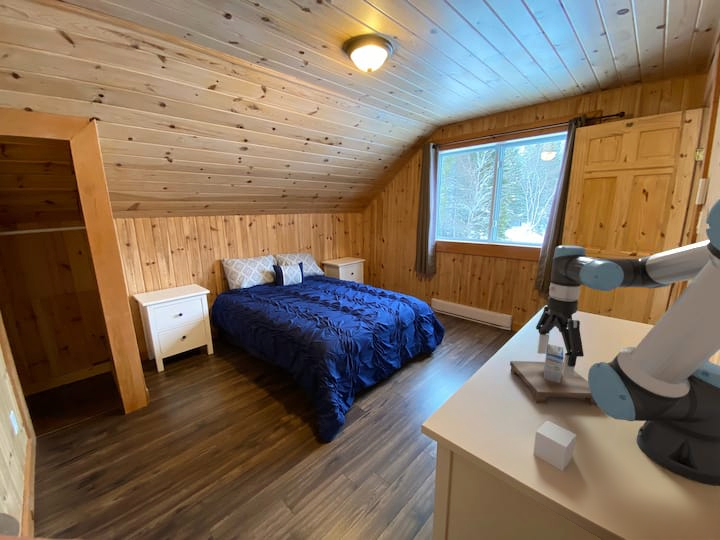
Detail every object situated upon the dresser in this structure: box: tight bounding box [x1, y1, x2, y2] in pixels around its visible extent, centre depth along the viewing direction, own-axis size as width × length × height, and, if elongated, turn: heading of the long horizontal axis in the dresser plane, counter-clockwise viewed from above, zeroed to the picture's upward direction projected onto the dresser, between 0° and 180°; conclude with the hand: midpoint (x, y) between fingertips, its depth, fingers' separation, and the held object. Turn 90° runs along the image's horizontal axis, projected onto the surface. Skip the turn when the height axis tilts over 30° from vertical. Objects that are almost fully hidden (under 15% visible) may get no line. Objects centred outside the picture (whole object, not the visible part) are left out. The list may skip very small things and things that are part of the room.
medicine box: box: [543, 343, 565, 383], centre depth 95 cm, size 8×4×9 cm, turn 147°
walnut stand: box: [509, 360, 598, 406], centre depth 96 cm, size 18×18×4 cm
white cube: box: [533, 420, 577, 472], centre depth 69 cm, size 6×6×6 cm
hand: (553, 363), depth 95 cm, fingers open, 13 cm apart
